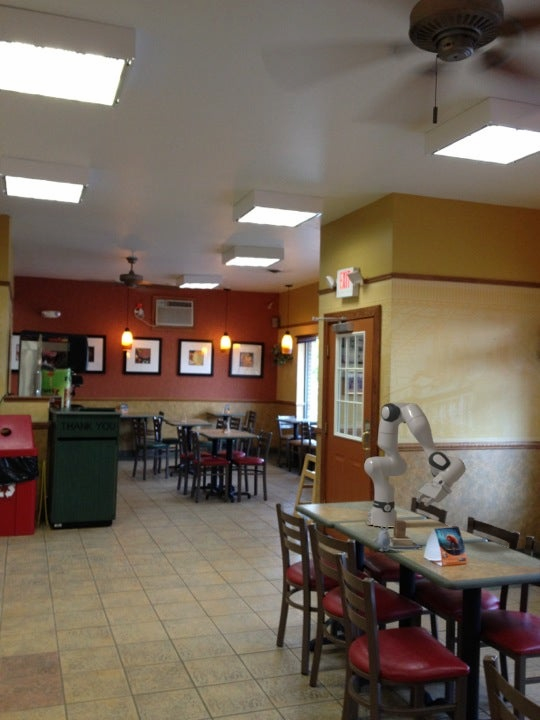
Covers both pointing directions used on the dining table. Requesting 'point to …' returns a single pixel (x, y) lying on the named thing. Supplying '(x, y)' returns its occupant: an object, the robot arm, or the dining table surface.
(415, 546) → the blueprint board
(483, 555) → the dining table surface
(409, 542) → the oak pedestal
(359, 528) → the dining table surface
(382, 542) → the toy figure
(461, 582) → the dining table surface
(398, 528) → the walnut pillar
